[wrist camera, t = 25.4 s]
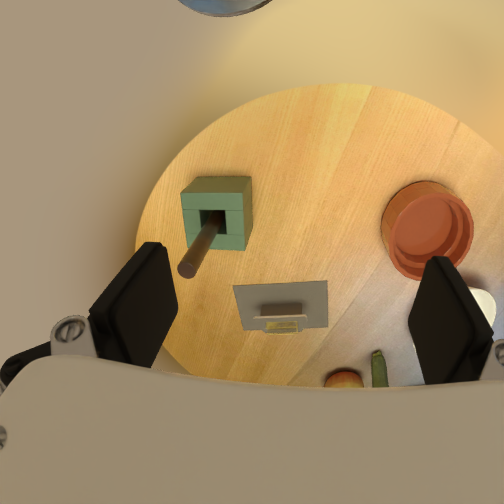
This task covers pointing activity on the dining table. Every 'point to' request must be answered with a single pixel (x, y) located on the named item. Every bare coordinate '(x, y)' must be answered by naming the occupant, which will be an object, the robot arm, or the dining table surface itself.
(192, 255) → the stick
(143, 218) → the dining table surface
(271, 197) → the dining table surface
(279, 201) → the dining table surface
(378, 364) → the vegetable
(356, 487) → the robot arm
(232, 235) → the stand
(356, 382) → the apple
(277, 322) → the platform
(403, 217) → the mixing bowl
